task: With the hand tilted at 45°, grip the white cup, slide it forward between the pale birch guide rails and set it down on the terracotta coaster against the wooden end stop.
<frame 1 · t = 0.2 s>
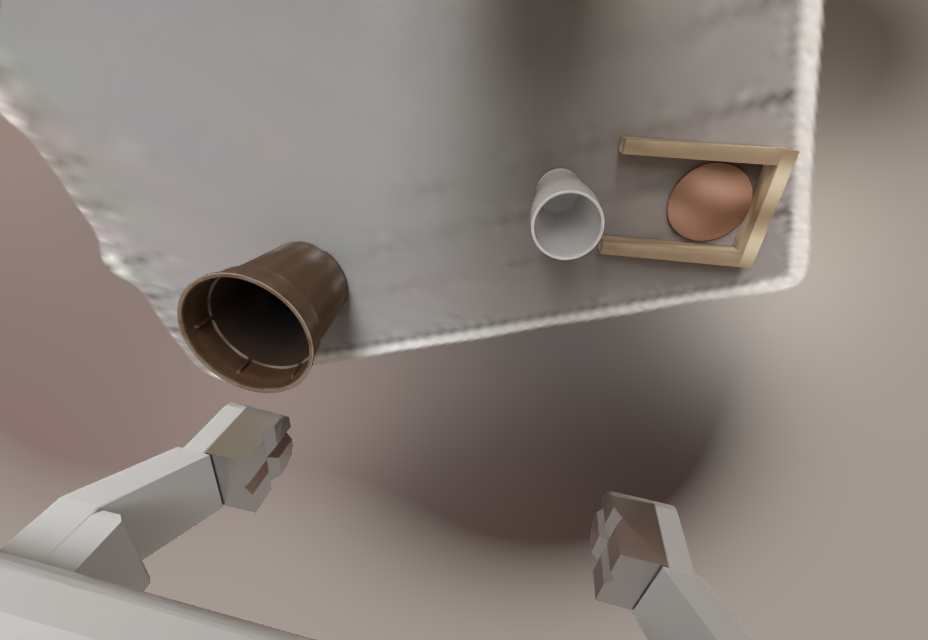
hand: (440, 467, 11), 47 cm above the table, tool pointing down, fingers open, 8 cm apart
white cup: (557, 189, 53), on the table
plant pot: (307, 280, 64), on the table
guide channel: (668, 199, 51), on the table
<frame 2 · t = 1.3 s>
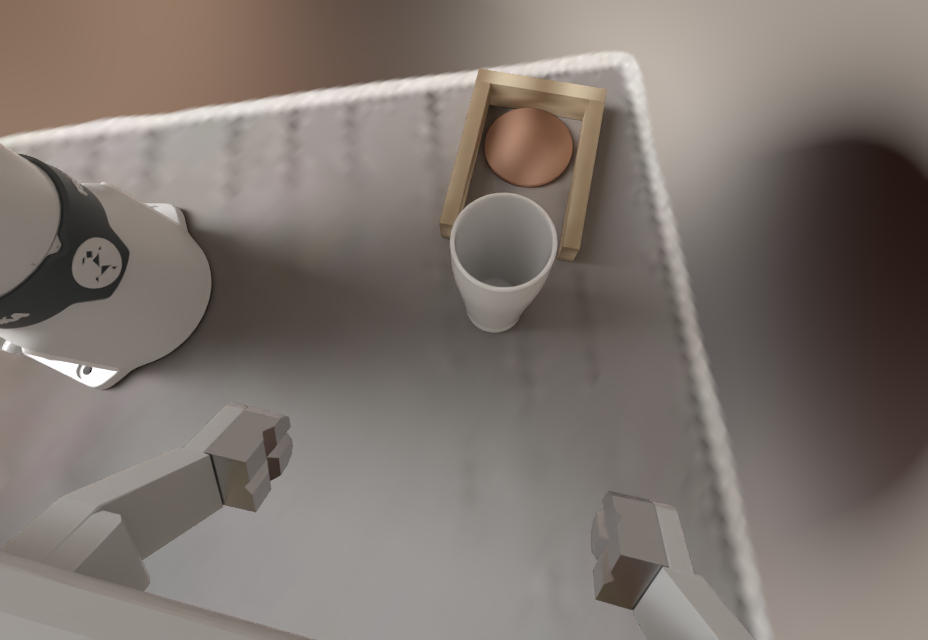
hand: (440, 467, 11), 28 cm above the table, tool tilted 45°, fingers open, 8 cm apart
white cup: (493, 307, 41), on the table
guide channel: (519, 186, 44), on the table
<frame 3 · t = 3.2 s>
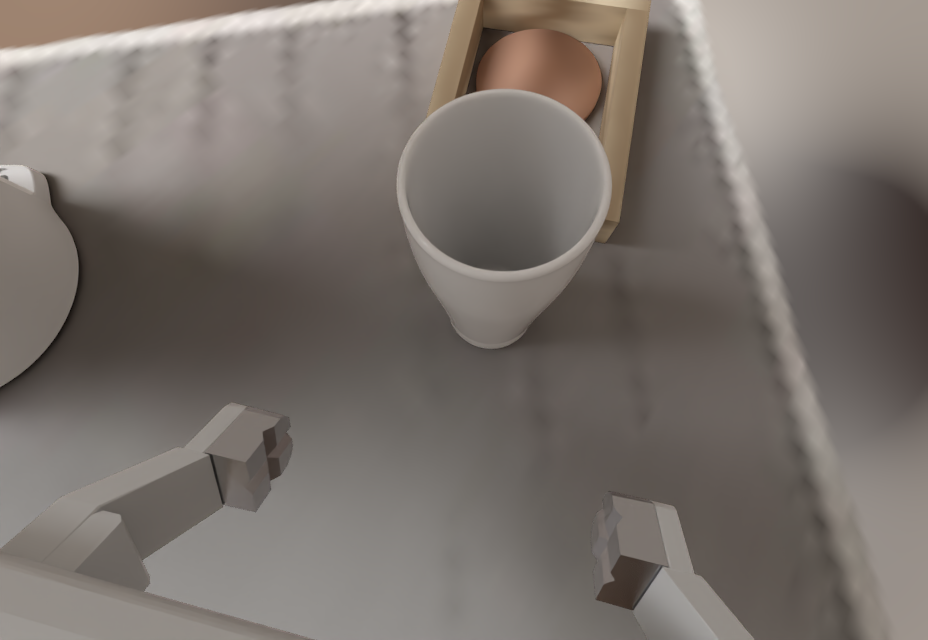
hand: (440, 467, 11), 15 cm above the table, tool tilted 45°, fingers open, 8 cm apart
white cup: (490, 310, 28), on the table
guide channel: (526, 137, 31), on the table
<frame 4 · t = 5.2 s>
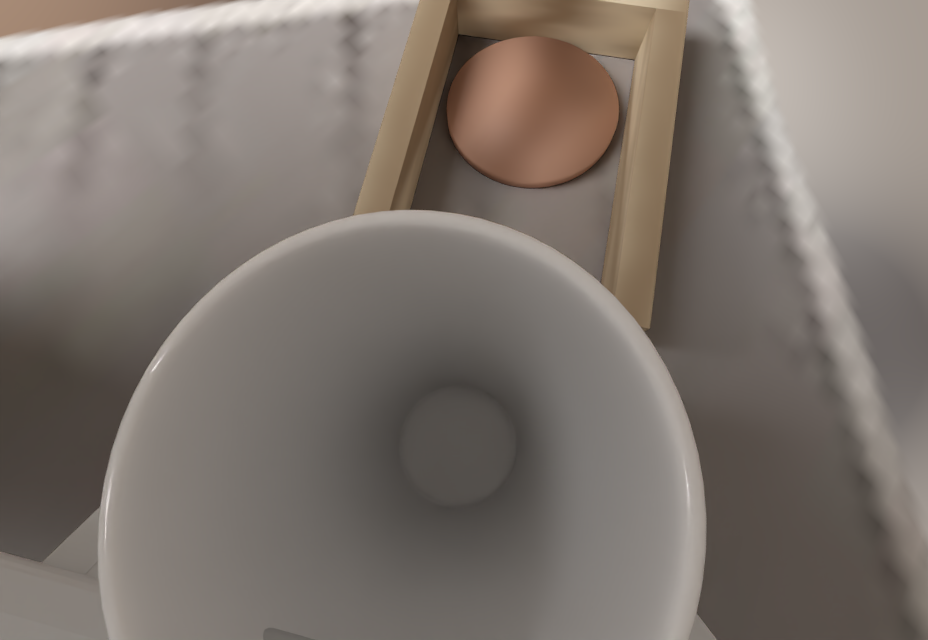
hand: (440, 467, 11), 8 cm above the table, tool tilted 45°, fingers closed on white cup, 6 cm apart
white cup: (460, 443, 19), on the table, touching gripper
guide channel: (515, 186, 22), on the table
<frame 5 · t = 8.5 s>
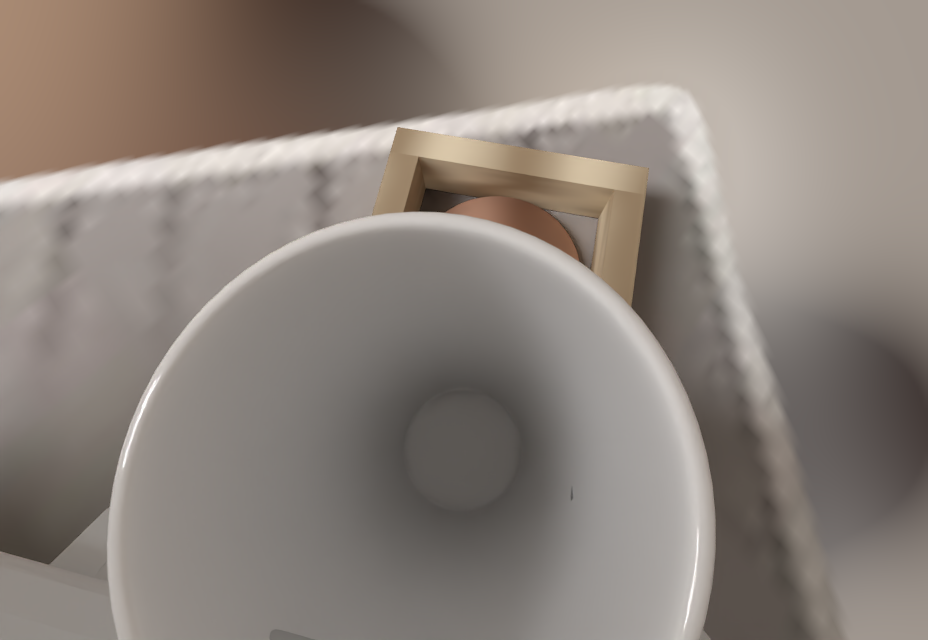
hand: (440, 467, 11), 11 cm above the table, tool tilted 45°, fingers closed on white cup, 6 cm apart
white cup: (464, 446, 19), point 2 cm above the table, touching gripper
guide channel: (478, 355, 22), on the table
when the fingers open (10 cm above the table, at t = 11.4 s): white cup stays where it is, resting on guide channel.
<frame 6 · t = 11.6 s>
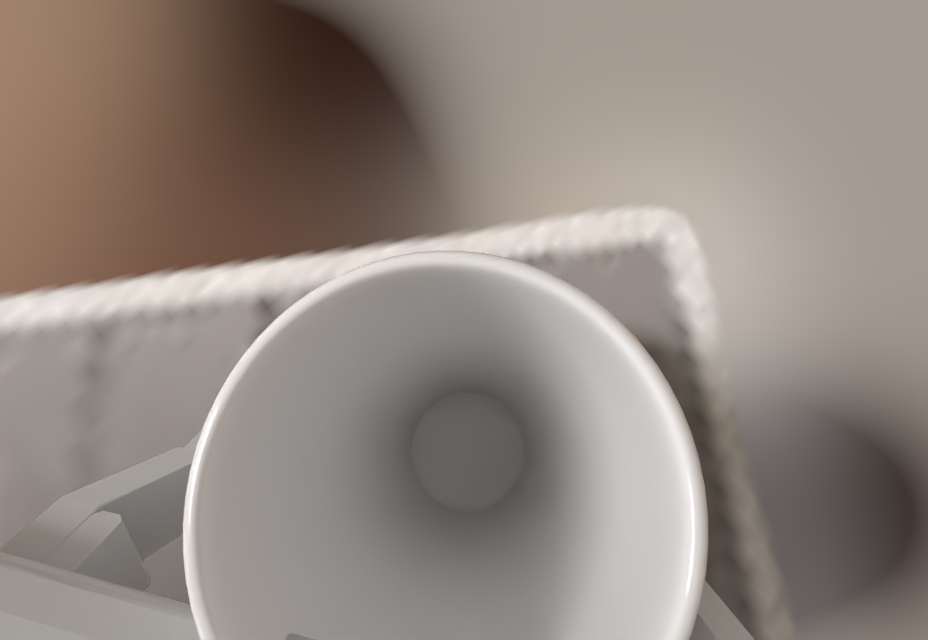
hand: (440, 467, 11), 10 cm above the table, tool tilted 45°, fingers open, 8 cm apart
white cup: (469, 448, 20), resting on guide channel
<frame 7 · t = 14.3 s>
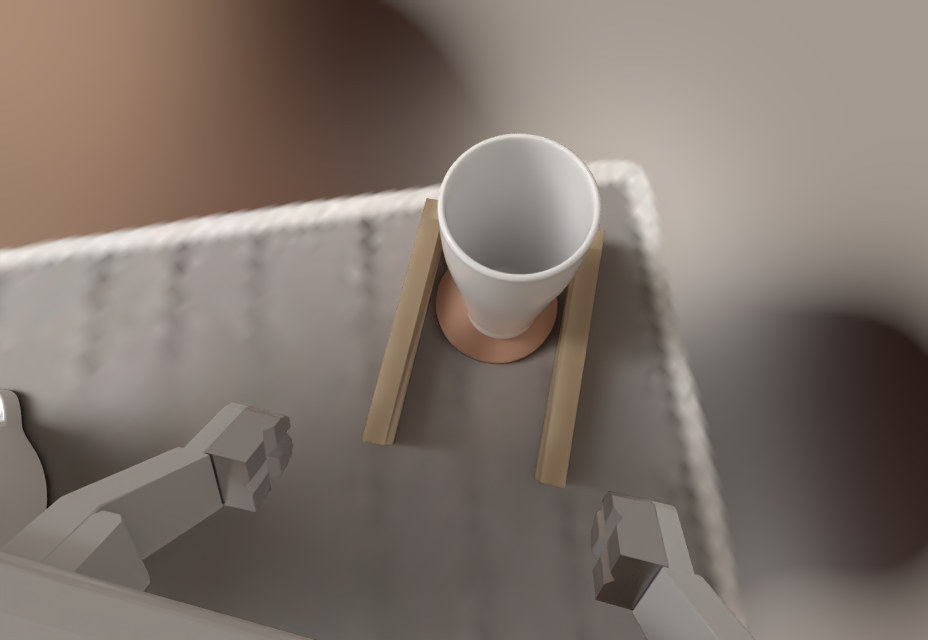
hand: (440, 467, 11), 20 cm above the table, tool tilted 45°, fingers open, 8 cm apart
white cup: (501, 306, 32), resting on guide channel
guide channel: (483, 362, 31), on the table
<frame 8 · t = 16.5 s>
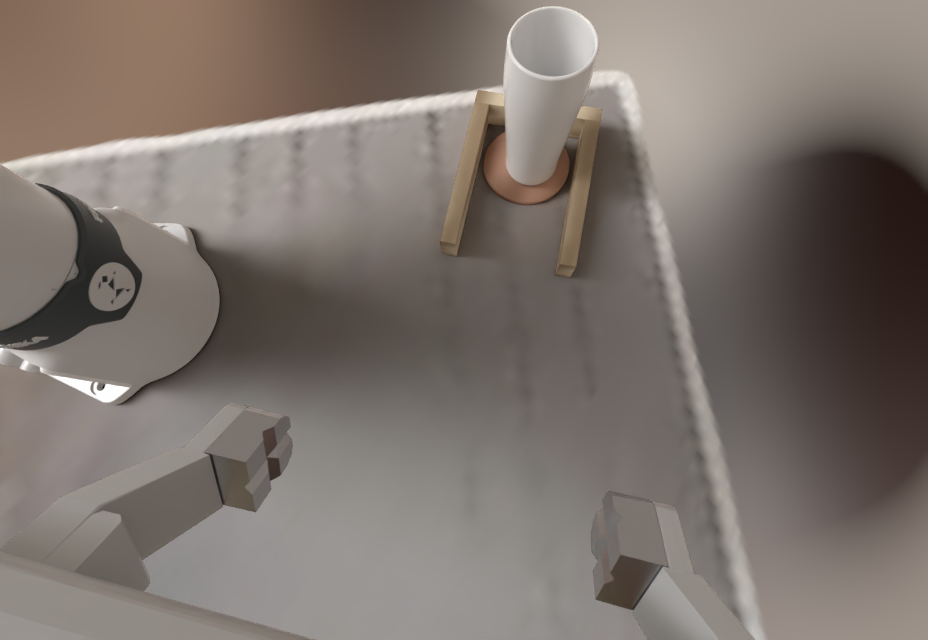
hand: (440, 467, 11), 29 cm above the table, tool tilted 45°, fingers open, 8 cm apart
white cup: (530, 166, 46), resting on guide channel
guide channel: (518, 204, 45), on the table
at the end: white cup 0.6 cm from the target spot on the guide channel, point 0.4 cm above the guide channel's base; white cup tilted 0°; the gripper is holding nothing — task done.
